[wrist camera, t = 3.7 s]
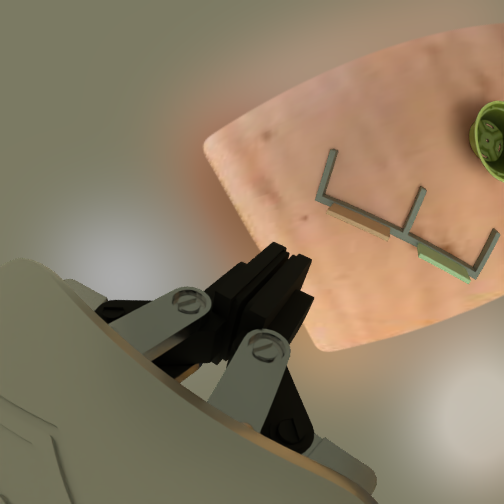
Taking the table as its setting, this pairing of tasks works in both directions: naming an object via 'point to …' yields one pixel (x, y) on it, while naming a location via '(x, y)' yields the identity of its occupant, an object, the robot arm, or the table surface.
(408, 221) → the green rack
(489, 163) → the plant pot
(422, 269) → the table surface
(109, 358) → the robot arm
